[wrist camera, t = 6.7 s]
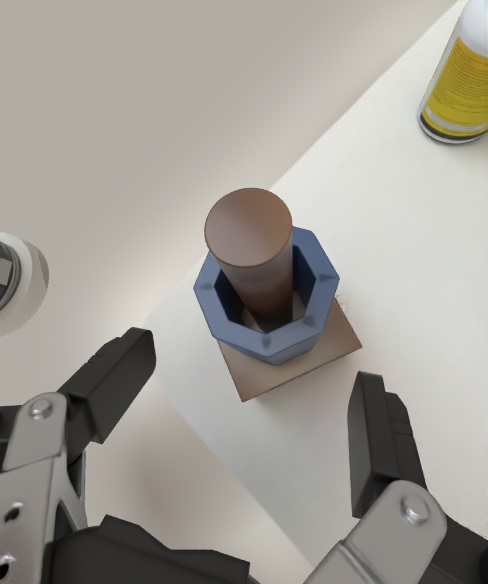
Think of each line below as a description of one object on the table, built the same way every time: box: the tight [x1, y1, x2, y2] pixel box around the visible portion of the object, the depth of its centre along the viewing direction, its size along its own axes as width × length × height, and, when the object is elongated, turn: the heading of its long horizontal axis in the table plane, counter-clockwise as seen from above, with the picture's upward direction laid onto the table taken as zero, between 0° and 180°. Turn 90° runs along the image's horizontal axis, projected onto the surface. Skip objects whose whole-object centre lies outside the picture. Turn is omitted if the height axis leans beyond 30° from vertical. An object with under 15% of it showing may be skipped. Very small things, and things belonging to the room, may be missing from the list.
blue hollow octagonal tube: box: [194, 226, 340, 366], centre depth 16 cm, size 6×6×7 cm
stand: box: [204, 188, 362, 402], centre depth 17 cm, size 8×8×18 cm
